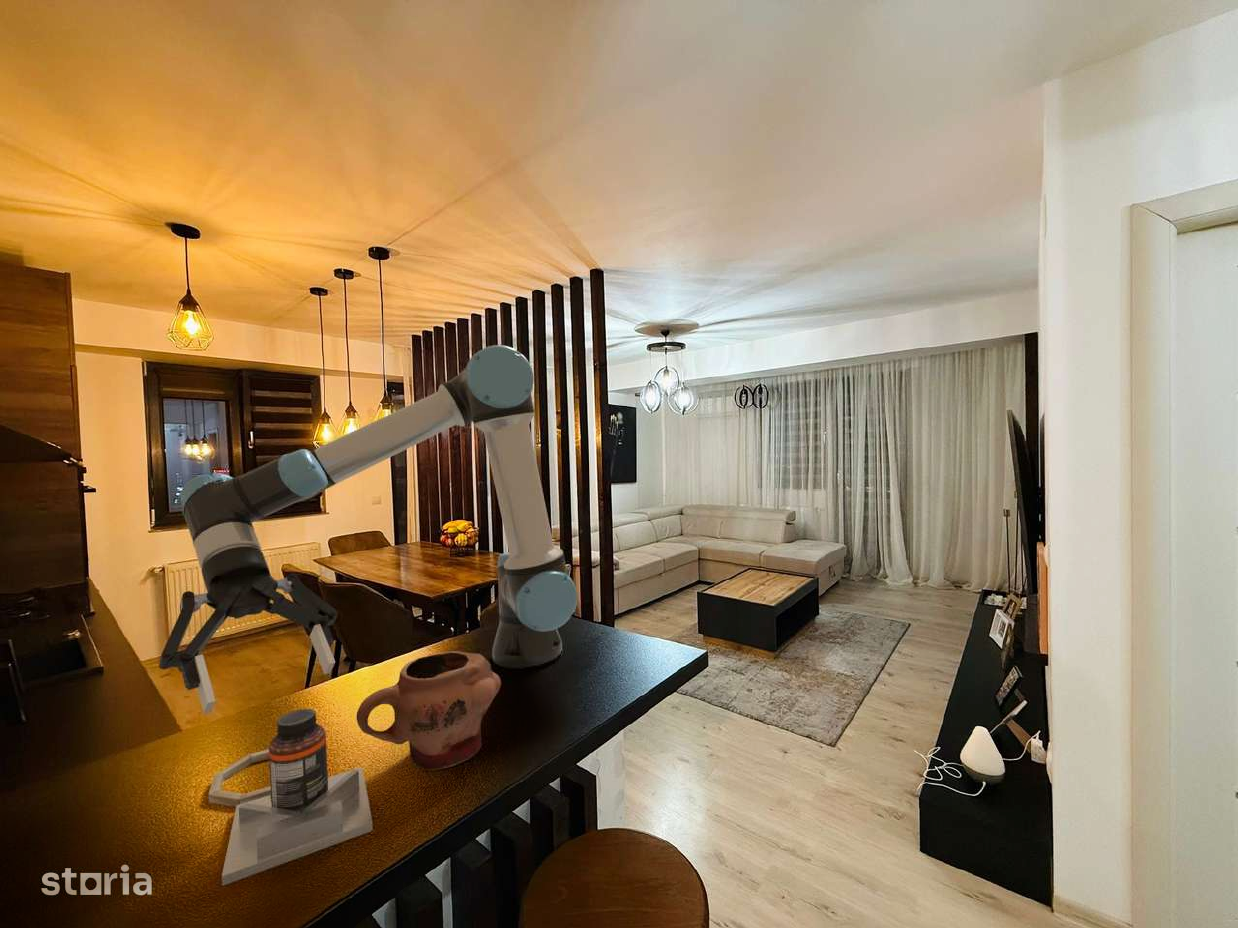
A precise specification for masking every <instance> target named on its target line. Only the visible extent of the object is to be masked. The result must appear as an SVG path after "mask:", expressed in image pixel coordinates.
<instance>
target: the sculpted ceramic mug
mask: <svg viewBox="0 0 1238 928" xmlns="http://www.w3.org/2000/svg"><path fill="white" fill-rule="evenodd" d="M501 685H502V681H501V678H500V676H499V675H498V674H497V673H495V672H494V671H493V670H492V666H491V663H490V661H488V660H487V659H486V658H485V656H484V655H483V654H481V653H471V652H466V651H465V652H464V651H457V650H456V651H450V652H449V651H448V652H444V653H437V654H429V655H426V656H422V657H418V658H416V659H415V658H414V660H411V661H409V662H408V663H406V664H405V665H404V666H403V667H402V668H401V670H400V671H399V677H398V681H397V683H395V684H394V685H391V686H389V687H384V688H382V689H378V690H377V691H374V692H373V693H372V694H370V695H368V696H367V697H366V698H365V699H363V701H362V702H361V703H360V705H359V706H358V709H357V712H356V723H357V725H358V727H359V728H360V730H361V732H363V733H364V734H366V735H370V736H371V737H374V738H376V739H378V740H381V741H384V742H389V743H392V744H395V745H403V744H405V743H406V742H408V745H409V756H410V759H411V761H412V762H413V763H414V764H415V766H417V768H419V769H421V770H428V771H436V770H441V769H442V770H443V769H445V768H450V767H454V766H457V765H459V764H461V763H463V762H465V761H468V760H469V759H471V758H473V757H474V756H475V755H476V754H477V753H479V750H480V749H481V747H482V740H483V739H482V732H481V729H482V728H481V727H482V726H481V724H482V721H483V717H484V716H485V715H486V712H487V710H488V708H489V707H490V706H491V704H492V702H493V700H494V698H495V697H496V696H497V694H498V693H499V691H500V688H501V687H502V686H501ZM381 705H389V706H390V707H392V709H393V712H394V721H393V723H392V724H391V725H390V726H389V727H388V728H387V729H385V730H375V729H373V728H372V727H371V726H370V725H369V716H370V715H371V712H372V711H373V710H374V709H375V708H377V707H378V706H379V707H380V706H381Z"/></svg>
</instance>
